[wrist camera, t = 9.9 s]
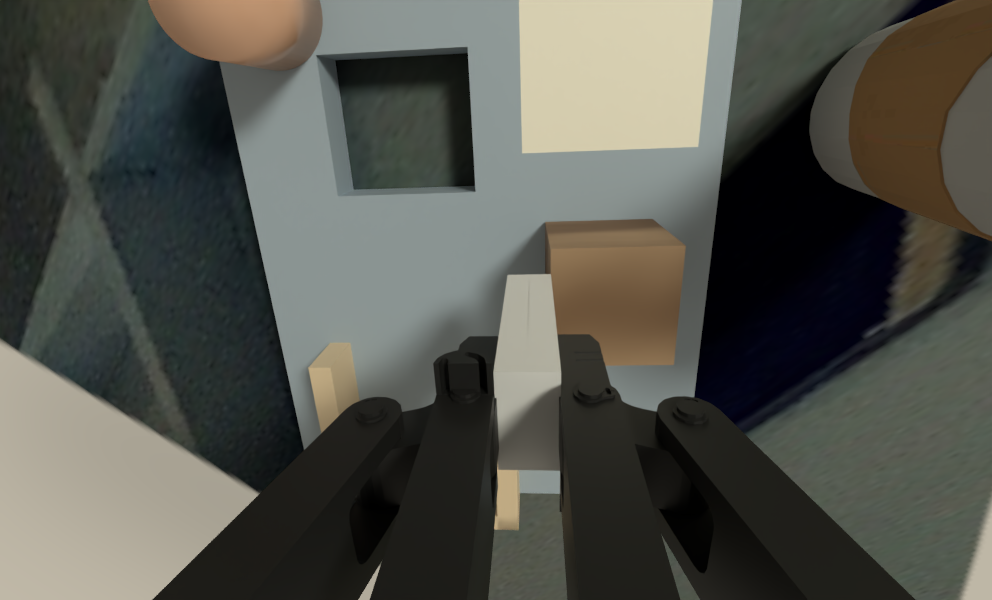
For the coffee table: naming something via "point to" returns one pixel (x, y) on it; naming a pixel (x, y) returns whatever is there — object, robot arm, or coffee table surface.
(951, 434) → the coffee table surface
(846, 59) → the coffee cup
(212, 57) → the beige cylinder
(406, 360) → the board
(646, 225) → the walnut cube
